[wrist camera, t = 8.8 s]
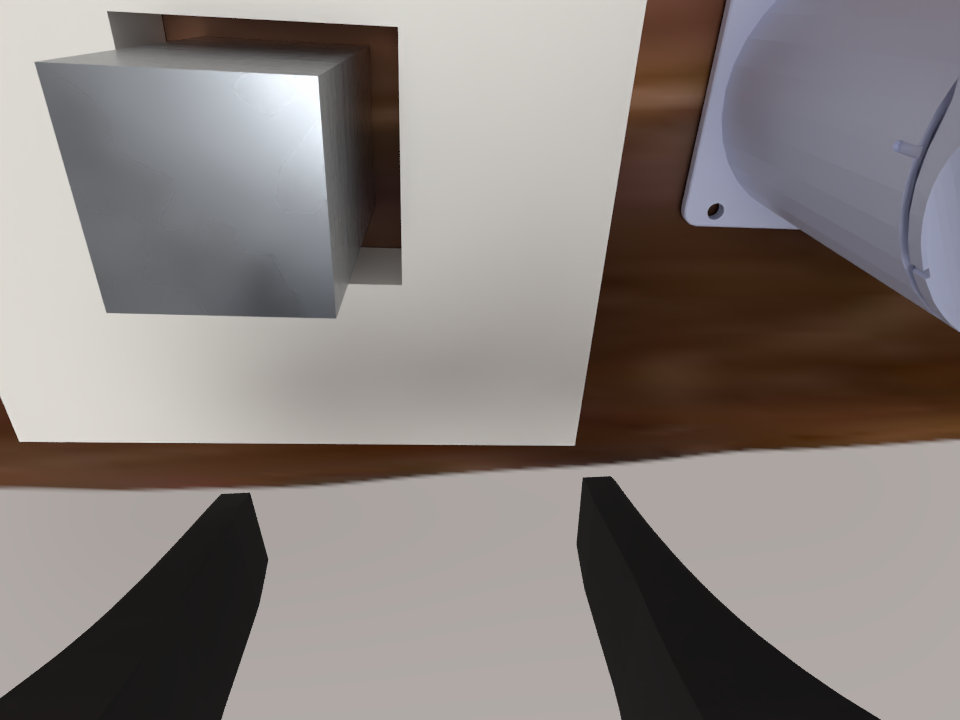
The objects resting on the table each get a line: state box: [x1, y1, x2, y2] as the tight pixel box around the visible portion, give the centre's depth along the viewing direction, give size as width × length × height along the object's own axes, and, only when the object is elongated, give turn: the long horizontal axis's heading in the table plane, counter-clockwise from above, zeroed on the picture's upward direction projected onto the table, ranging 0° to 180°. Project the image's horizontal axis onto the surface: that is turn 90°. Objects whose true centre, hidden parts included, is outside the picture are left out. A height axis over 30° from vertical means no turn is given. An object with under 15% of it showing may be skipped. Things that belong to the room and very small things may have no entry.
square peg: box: [34, 36, 375, 319], centre depth 15 cm, size 4×4×8 cm
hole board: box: [0, 0, 647, 446], centre depth 17 cm, size 18×18×3 cm
